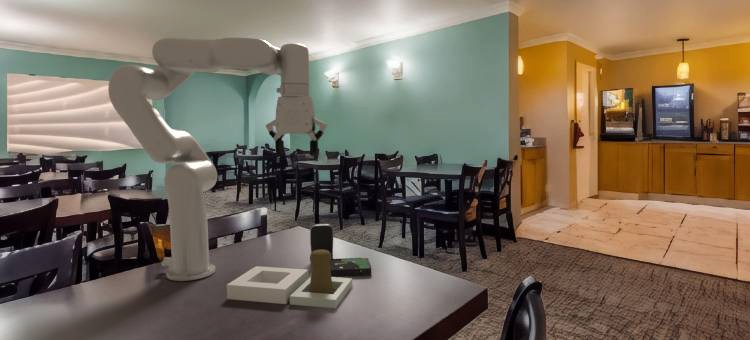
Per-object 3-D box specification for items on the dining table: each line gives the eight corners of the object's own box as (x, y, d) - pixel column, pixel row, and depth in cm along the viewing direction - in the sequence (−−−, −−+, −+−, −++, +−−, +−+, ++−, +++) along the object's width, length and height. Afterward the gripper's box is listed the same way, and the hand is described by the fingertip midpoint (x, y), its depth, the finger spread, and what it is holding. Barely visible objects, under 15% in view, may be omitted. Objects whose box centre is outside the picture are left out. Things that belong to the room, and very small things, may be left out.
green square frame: (290, 304, 95) (289, 296, 94) (312, 282, 108) (311, 275, 108) (335, 308, 92) (335, 299, 92) (352, 285, 106) (352, 278, 106)
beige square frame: (227, 299, 98) (226, 284, 98) (256, 278, 112) (256, 266, 111) (290, 304, 95) (289, 289, 94) (312, 282, 108) (311, 269, 108)
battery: (332, 257, 130) (332, 222, 129) (333, 261, 126) (333, 224, 125) (310, 259, 129) (309, 223, 128) (310, 262, 125) (309, 225, 124)
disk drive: (318, 280, 112) (372, 277, 113) (317, 270, 112) (371, 267, 113) (318, 268, 122) (368, 265, 124) (318, 259, 122) (368, 256, 123)
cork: (312, 289, 104) (311, 246, 103) (336, 290, 103) (335, 247, 102) (305, 299, 98) (304, 253, 97) (330, 300, 97) (329, 254, 96)
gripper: (259, 91, 109) (261, 155, 111) (321, 89, 105) (322, 156, 107) (272, 94, 116) (273, 154, 118) (330, 92, 113) (331, 154, 114)
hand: (296, 155), depth 112 cm, fingers open, 9 cm apart
